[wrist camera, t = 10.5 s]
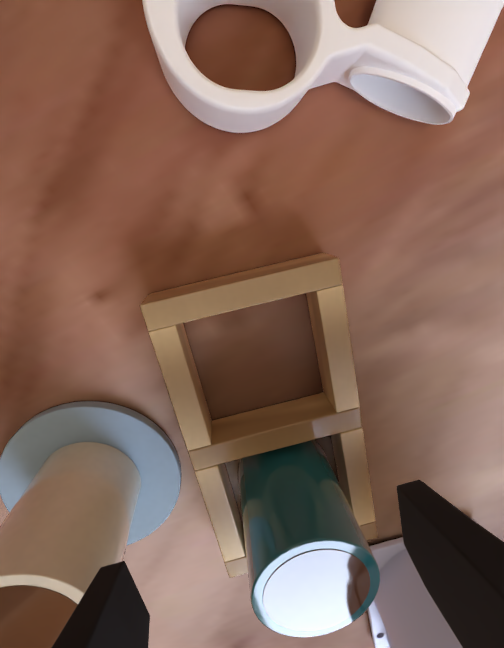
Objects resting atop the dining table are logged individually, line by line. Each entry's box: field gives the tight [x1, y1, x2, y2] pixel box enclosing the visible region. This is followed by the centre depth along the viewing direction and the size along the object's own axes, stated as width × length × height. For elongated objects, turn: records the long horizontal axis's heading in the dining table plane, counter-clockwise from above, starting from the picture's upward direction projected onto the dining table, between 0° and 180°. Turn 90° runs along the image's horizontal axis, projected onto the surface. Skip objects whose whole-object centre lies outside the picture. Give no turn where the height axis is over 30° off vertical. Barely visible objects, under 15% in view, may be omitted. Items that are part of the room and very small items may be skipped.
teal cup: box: [238, 440, 380, 637], centre depth 17 cm, size 5×5×7 cm
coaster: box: [0, 401, 181, 545], centre depth 19 cm, size 9×9×1 cm
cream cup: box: [0, 442, 141, 648], centre depth 15 cm, size 5×5×7 cm
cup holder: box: [140, 253, 378, 578], centre depth 18 cm, size 16×9×2 cm, turn 12°
